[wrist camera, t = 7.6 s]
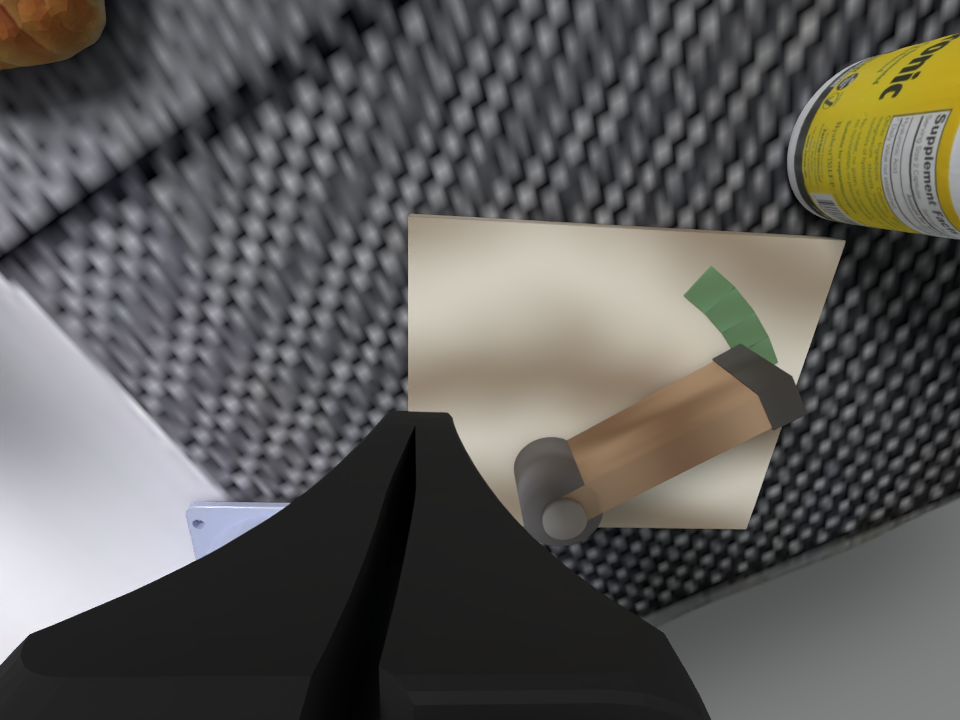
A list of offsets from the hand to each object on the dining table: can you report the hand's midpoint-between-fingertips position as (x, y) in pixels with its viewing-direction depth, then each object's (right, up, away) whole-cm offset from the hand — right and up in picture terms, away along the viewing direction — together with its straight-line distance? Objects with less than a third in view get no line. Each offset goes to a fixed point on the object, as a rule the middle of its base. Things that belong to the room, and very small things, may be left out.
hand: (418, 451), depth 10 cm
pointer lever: (+8, -1, +9) cm, 12 cm away
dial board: (+6, +1, +10) cm, 12 cm away
